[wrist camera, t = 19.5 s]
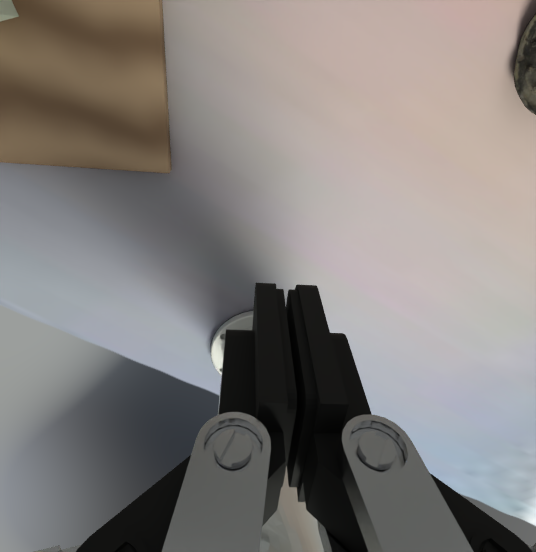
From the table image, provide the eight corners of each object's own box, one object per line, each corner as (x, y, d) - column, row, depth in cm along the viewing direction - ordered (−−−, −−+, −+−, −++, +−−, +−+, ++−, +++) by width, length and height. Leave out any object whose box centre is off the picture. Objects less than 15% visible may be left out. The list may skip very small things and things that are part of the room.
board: (171, 169, 35) (169, 173, 34) (-80, 152, 33) (-91, 156, 32) (151, -182, 23) (147, -192, 22) (-235, -234, 22) (-259, -247, 21)
